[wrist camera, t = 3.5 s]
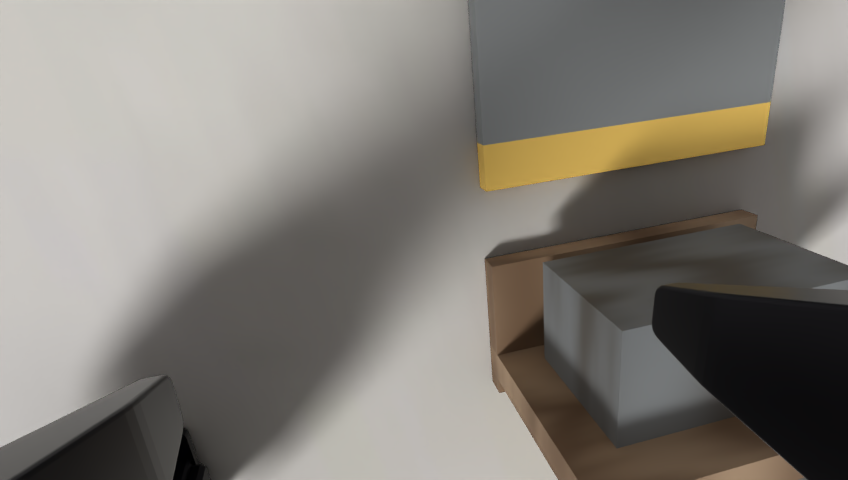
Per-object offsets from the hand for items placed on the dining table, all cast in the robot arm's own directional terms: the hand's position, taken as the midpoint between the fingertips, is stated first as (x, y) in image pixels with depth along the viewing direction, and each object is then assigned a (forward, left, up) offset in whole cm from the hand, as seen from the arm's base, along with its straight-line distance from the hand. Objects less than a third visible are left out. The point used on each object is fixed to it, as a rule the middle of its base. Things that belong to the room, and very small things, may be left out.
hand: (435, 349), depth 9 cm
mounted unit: (+12, -8, -13) cm, 20 cm away
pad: (+12, +6, -13) cm, 19 cm away
